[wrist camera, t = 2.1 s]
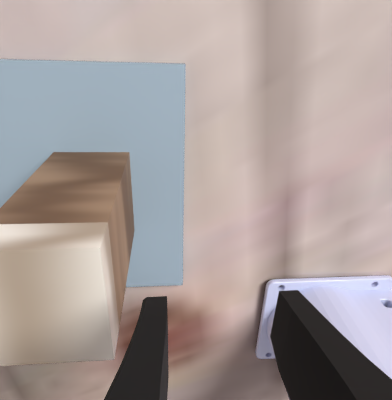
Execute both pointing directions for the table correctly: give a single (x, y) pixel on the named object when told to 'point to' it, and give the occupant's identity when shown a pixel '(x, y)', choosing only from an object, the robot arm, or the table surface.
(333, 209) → the table surface
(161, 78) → the light blue mat
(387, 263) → the table surface
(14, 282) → the walnut block
